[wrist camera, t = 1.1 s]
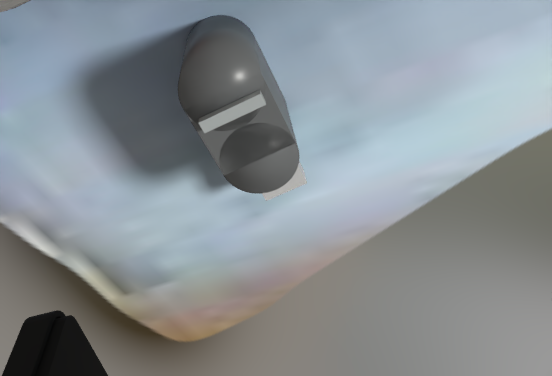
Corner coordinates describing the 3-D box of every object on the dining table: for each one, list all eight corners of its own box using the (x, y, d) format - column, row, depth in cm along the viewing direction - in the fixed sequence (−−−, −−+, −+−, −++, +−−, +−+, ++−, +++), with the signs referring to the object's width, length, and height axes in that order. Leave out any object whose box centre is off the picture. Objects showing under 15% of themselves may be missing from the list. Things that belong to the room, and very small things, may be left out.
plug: (171, 35, 29) (159, 76, 23) (237, 2, 28) (241, 36, 22) (252, 176, 34) (258, 237, 28) (309, 150, 33) (327, 208, 28)
